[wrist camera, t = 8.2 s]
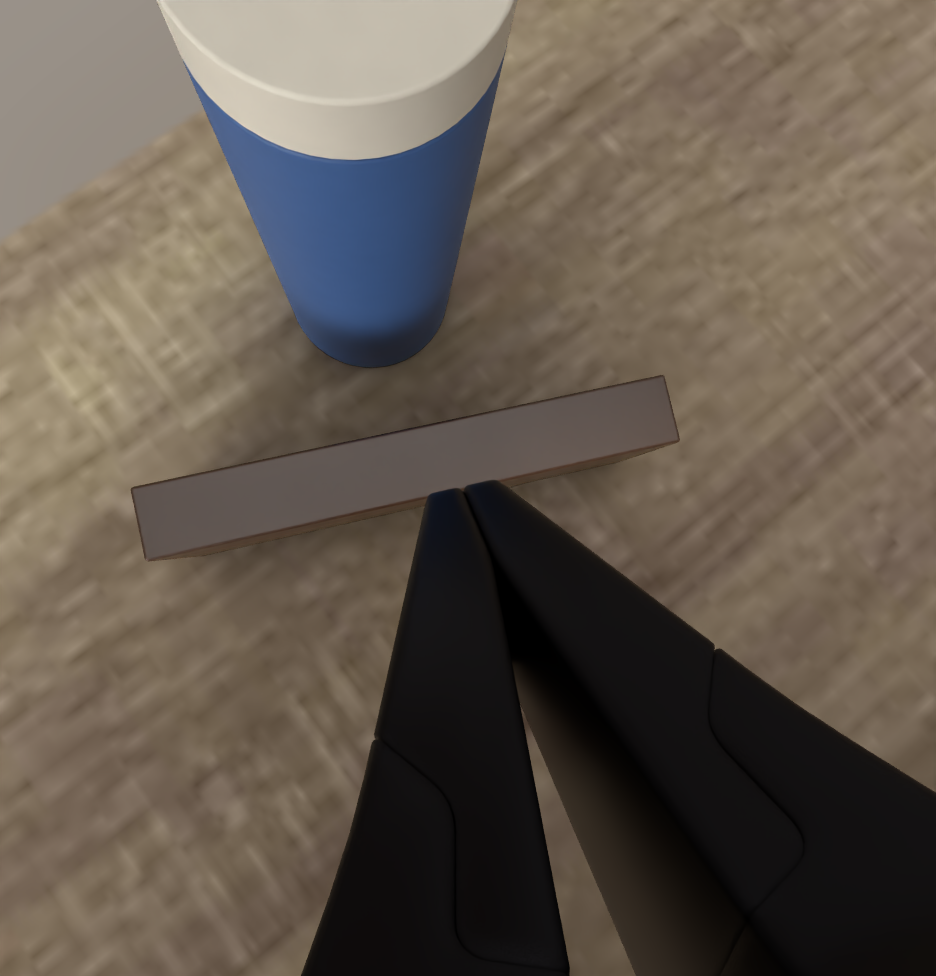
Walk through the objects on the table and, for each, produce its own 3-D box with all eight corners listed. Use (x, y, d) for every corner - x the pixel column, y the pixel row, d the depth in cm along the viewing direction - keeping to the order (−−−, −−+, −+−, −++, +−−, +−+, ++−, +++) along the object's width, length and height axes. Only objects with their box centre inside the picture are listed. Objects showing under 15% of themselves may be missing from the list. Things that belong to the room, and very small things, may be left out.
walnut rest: (620, 461, 20) (681, 441, 16) (201, 556, 19) (144, 561, 14) (607, 408, 20) (664, 374, 16) (189, 498, 19) (129, 487, 14)
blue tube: (519, 527, 17) (590, -186, 6) (337, 567, 16) (71, -137, 6) (434, 267, 22) (392, -357, 11) (294, 291, 21) (115, -341, 11)
